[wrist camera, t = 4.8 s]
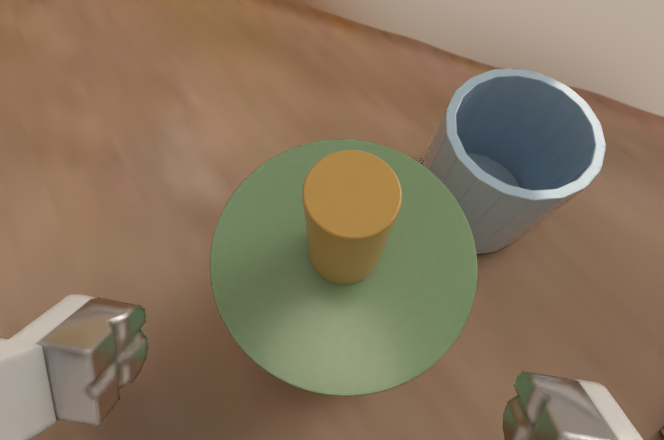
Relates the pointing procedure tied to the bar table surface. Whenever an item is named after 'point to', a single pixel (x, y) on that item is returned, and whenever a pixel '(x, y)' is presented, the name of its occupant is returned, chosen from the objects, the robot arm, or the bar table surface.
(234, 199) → the lid
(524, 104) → the cup
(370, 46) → the bar table surface
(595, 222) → the bar table surface
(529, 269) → the bar table surface
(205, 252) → the bar table surface
